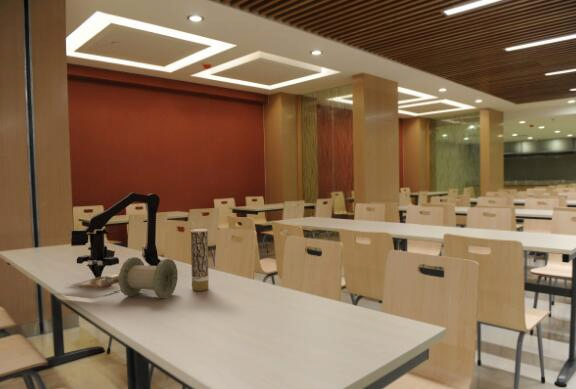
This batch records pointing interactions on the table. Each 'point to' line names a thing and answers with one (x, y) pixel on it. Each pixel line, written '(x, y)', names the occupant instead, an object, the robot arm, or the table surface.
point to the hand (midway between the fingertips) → (98, 279)
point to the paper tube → (199, 259)
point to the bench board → (107, 285)
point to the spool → (148, 277)
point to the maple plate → (103, 280)
